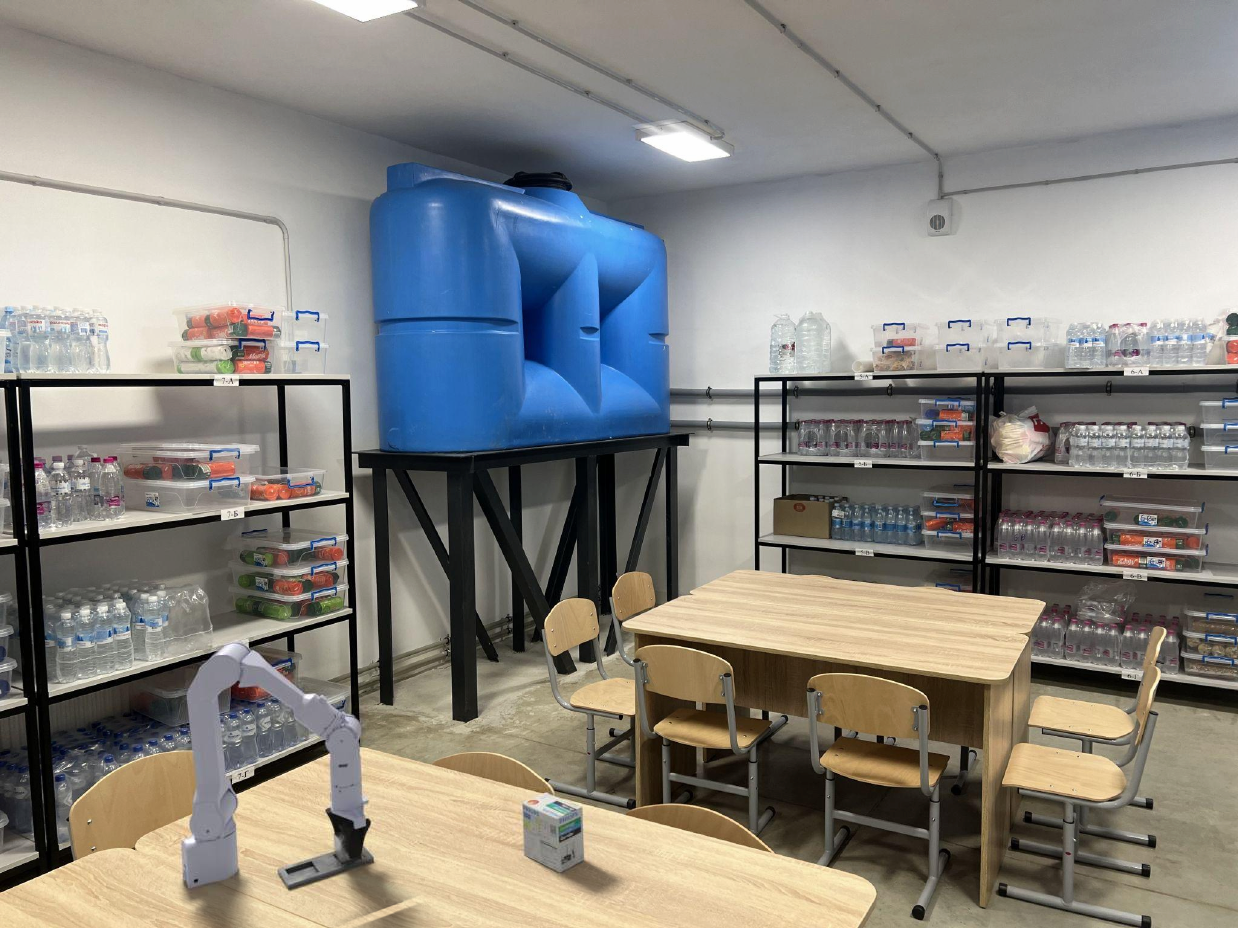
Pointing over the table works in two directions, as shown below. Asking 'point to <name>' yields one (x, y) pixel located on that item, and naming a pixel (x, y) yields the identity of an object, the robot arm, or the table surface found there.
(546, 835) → the light bulb box
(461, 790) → the table surface
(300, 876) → the dark gray slotted base
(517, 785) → the table surface
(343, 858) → the grey square block
